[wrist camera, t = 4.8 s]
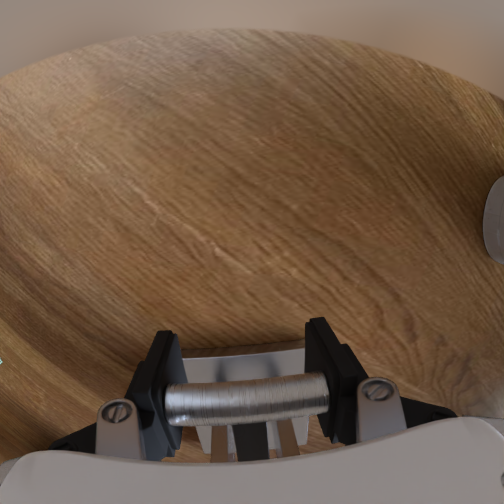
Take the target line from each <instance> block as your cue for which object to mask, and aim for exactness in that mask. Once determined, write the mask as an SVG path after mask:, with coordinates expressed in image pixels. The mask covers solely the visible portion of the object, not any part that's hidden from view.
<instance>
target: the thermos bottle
mask: <svg viewBox="0 0 504 504" xmlns="http://www.w3.org/2000/svg"><path fill="white" fill-rule="evenodd" d="M483 236H484V242H485V246H486V249H487V252H488V253H489V255H490V256H491V258H492V259H494V260H495V261H497V262H499V263H501V264H504V176H502V177H500V178H499V179H498V180H497V181H496V182H495V183H494V185H493V186H492V188H491V190H490V192H489V194H488V197H487V200H486V204H485V209H484V216H483Z"/></svg>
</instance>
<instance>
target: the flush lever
mask: <svg viewBox="0 0 504 504" xmlns="http://www.w3.org/2000/svg"><path fill="white" fill-rule="evenodd" d="M330 404H331V393H330V387H329V382H328V379H327V377H326V375H325V373H324V372H323V371H315V372H309V373H302V374H295V375H288V376H280V377H272V378H263V379H253V380H241V381H228V382H211V383H183V384H168V385H166V387H165V390H164V396H163V406H164V413H165V417H166V420H167V422H168V424H169V425H171V426H218V425H232V430H233V436H234V441H235V447H236V452H237V457H238V462H244V461H257V460H267V459H270V458H269V443H268V429H267V422H269V421H277V420H285V419H292V418H299V417H305V416H311V415H316V414H322V413H326V412H328V411H329V409H330Z"/></svg>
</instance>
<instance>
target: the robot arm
mask: <svg viewBox="0 0 504 504" xmlns="http://www.w3.org/2000/svg"><path fill="white" fill-rule="evenodd" d="M315 371H323V372H324V373H325V375H326V377H327V379H328V382H329V387H330V393H331V404H330V409H329V411H328V412H326V413H322V414H317V417H318V419H319V422H320V425H321V428H322V431H323V434H324V436H325V437H330V440H331V443H332V444H333V443H338V442H340V443H343V444H345V446H344V447H340V448H335V449H331V450H326V451H321V452H315V453H310V454H304V455H298V456H291V457H284V458H276V459H267V460H257V461H244V462H226V463H175V462H161V459H163V458H164V457H174V455H175V450H179V449H180V444H181V437H182V431H183V426H171V425H169V424H168V422H167V420H166V417H165V413H164V406H163V396H164V390H165V387H166V385H168V384H183V383H188V380H187V376H186V372H185V368H184V363H183V359H182V355H181V350H180V346H179V341H178V336H177V334H176V333H175V334H173V333H172V331H171V330H165V331H158V332H157V334H156V336H155V338H154V340H153V343H152V345H151V347H150V350H149V352H148V355H147V357H146V359H145V361H140V363H139V364H138V367H137V369H136V371H135V373H134V376H133V378H132V380H131V383H130V385H129V388H128V390H127V392H126V395H125V397H124V398H116V399H112V400H109V401H107V402H105V403H104V404H103V405H101V407H100V408H99V410H98V413H97V422H96V423H94V424H92V425H90V426H87V427H85V428H83V429H81V430H79V431H77V432H74V433H72V434H70V435H68V436H65V437H63V438H61V439H59V440H57V441H55V442H53V443H52V444H51V445H50V447H49V448H48V450H47V451H43V450H42V451H37V452H33V453H29V454H27V455H25V456H22V457H18V458H15V459H11V460H7V461H5V462H3V463H2V464H1V465H0V504H504V419H502V418H488V417H477V416H468V415H462V417H458V416H457V415H456V414H455V412H453V411H452V410H450V409H448V408H445V407H441V406H436V405H432V404H428V403H424V402H420V401H416V400H412V399H408V398H404V397H401V396H400V395H399V390H398V388H397V385H396V384H395V383H394V382H393V381H391V380H389V379H387V378H383V377H371V378H369V377H368V375H367V373H366V372H365V370H364V369H363V367H362V366H361V364H360V362H359V361H358V359H357V358H356V356H355V355H354V353H353V352H352V350H351V349H350V347H349V346H348V344H340V342H339V340H338V339H337V337H336V335H335V334H334V332H333V331H332V329H331V327H330V326H329V324H328V323H327V321H326V319H325V318H324V317H318V318H311V319H310V322H306V324H305V364H304V373H309V372H315Z"/></svg>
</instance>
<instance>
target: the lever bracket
mask: <svg viewBox="0 0 504 504" xmlns="http://www.w3.org/2000/svg"><path fill="white" fill-rule="evenodd" d="M181 355H182V359H183V363H184V368H185V372H186V376H187V380H188V383H211V382H228V381H241V380H253V379H263V378H272V377H280V376H288V375H295V374H302V373H304V364H305V339H300V340H293V341H285V342H276V343H267V344H257V345H246V346H235V347H221V348H206V349H186V350H181ZM308 421H309V416H305V417H299V418H292V419H285V420H277V421H269V422H267V429H268V443H269V449H276V455H277V458H284V457H291V456H298V455H300V452H299V448H298V446H299V445H305V444H306V443H307V433H308ZM195 427H196V431H197V434H198V437H199V440H200V443H201V446H202V449H203V452H204V453H205V454H209V453H211V460H210V463H226V462H235V452H236V447H235V441H234V436H233V430H232V425H218V426H195Z"/></svg>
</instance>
